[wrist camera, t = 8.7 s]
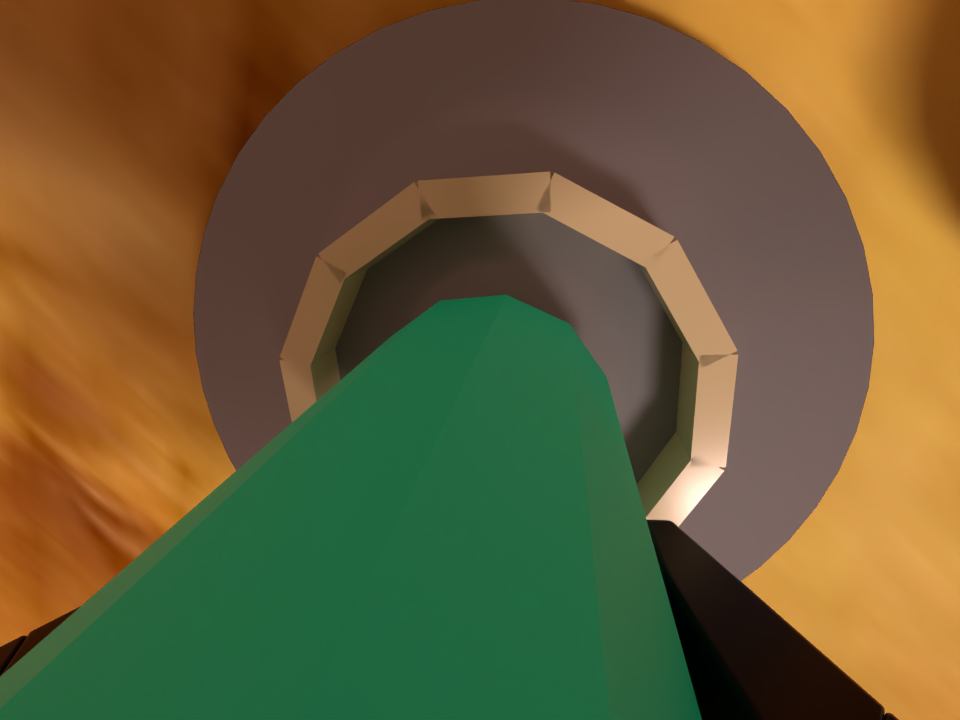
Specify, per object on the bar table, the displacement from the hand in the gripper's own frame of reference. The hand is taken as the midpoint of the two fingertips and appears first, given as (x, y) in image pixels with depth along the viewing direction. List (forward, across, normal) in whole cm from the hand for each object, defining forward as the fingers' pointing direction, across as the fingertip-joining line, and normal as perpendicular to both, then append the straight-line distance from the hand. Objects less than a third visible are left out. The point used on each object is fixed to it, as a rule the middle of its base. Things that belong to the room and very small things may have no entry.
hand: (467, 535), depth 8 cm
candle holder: (+7, 0, 0) cm, 7 cm away
